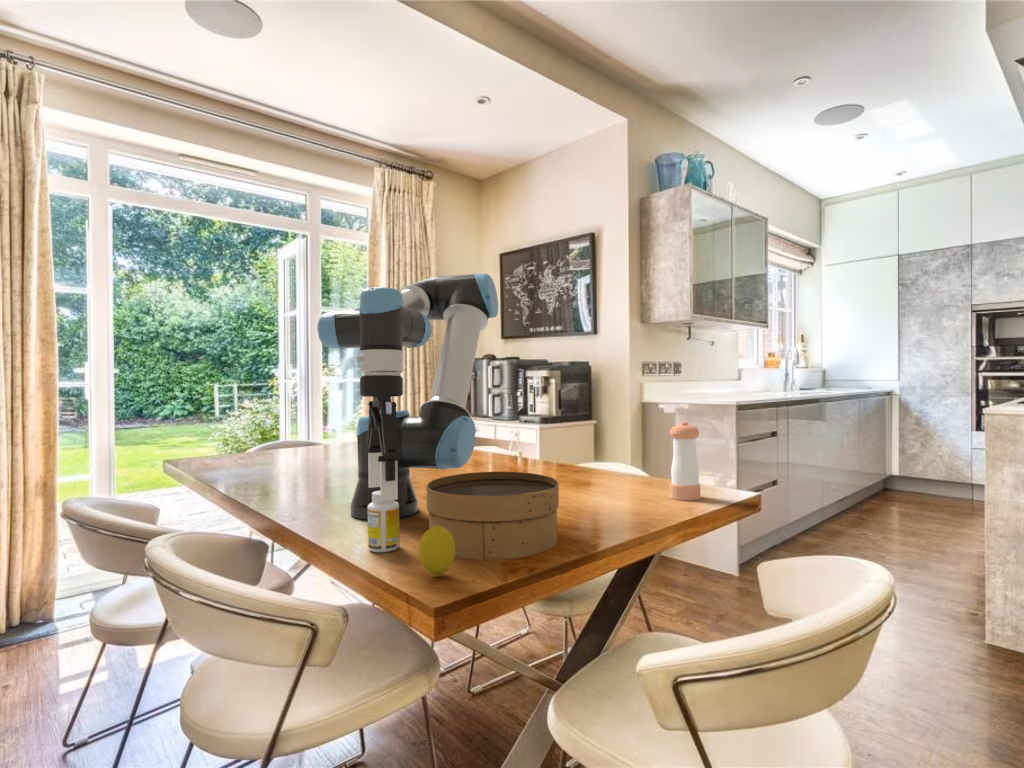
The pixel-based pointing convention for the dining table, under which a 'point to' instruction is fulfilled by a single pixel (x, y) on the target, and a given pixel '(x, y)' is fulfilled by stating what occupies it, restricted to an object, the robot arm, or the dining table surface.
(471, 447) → the robot arm
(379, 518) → the supplement bottle
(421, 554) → the lemon
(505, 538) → the steamer basket
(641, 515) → the dining table surface
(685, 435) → the pepper shaker
